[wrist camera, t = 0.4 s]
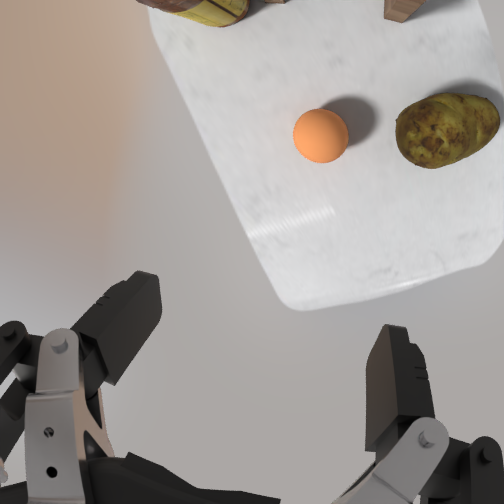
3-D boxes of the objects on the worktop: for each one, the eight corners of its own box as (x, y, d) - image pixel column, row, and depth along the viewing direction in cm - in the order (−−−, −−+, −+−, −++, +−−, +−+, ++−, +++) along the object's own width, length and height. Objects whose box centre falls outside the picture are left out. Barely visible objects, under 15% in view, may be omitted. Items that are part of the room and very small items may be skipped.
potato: (482, 168, 26) (515, 190, 20) (384, 154, 29) (400, 173, 23) (487, 100, 22) (524, 106, 16) (385, 80, 25) (402, 76, 19)
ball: (299, 104, 29) (293, 105, 24) (350, 112, 28) (354, 116, 23) (293, 152, 32) (286, 163, 27) (342, 161, 31) (345, 173, 26)
